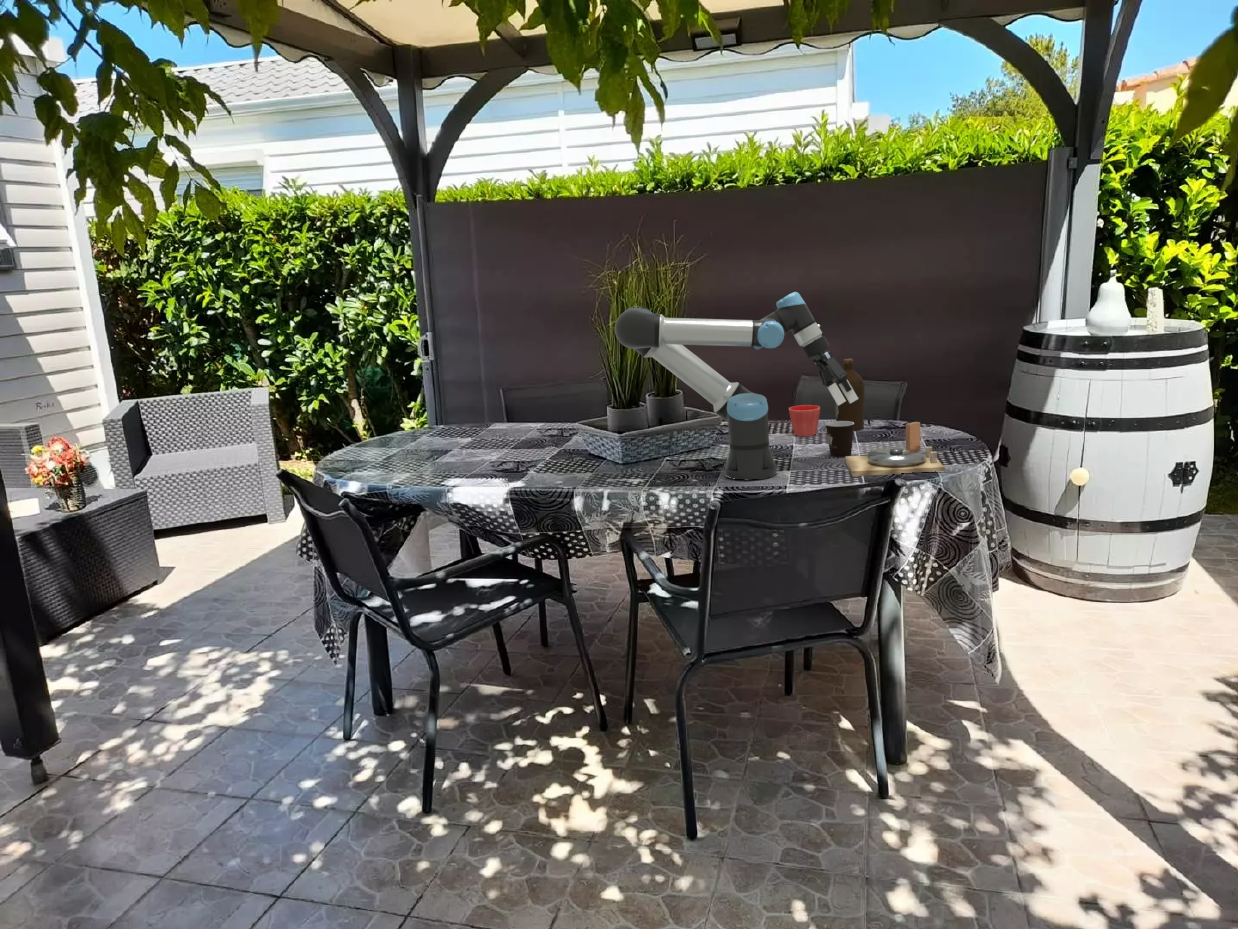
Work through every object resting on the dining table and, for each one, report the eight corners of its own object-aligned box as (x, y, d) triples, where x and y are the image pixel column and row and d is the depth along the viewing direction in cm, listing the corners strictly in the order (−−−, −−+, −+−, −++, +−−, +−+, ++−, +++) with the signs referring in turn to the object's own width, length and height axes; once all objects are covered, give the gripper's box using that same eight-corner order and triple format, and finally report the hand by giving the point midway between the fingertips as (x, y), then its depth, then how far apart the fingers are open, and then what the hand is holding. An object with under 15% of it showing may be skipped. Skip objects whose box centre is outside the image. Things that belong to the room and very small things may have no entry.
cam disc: (895, 469, 243) (894, 434, 241) (856, 460, 257) (855, 427, 255) (939, 459, 250) (939, 425, 248) (898, 451, 264) (898, 419, 262)
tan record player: (852, 476, 247) (851, 460, 246) (845, 461, 265) (845, 446, 264) (944, 472, 243) (944, 456, 242) (931, 457, 261) (931, 442, 260)
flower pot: (824, 436, 304) (823, 408, 302) (792, 438, 305) (791, 411, 303) (817, 430, 315) (816, 403, 313) (787, 432, 315) (786, 406, 313)
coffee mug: (855, 457, 269) (855, 425, 267) (827, 458, 271) (826, 426, 269) (853, 449, 280) (852, 418, 278) (826, 450, 282) (825, 420, 280)
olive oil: (866, 425, 316) (865, 356, 310) (864, 431, 306) (862, 360, 301) (836, 426, 320) (834, 357, 314) (833, 431, 310) (831, 361, 304)
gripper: (833, 329, 248) (871, 393, 249) (813, 339, 273) (847, 398, 274) (810, 342, 248) (848, 406, 249) (792, 351, 273) (826, 410, 274)
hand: (848, 402), depth 261 cm, fingers open, 13 cm apart
